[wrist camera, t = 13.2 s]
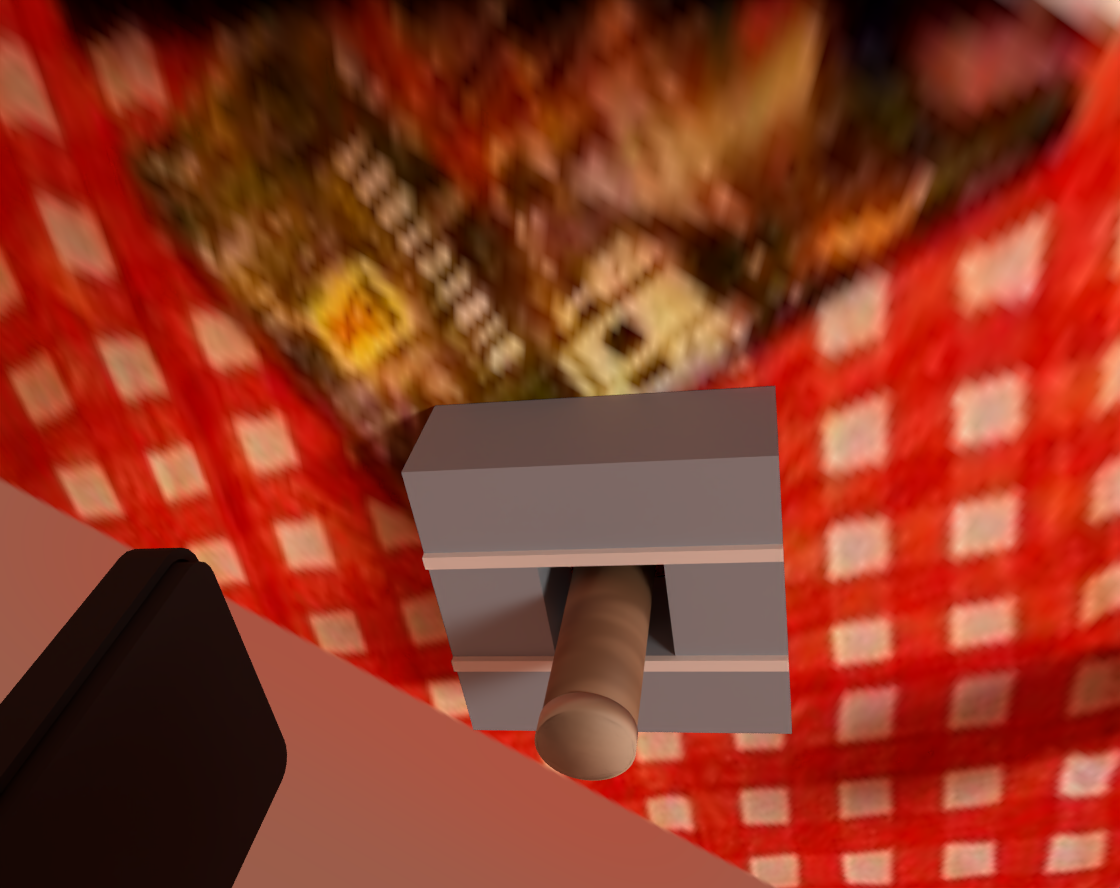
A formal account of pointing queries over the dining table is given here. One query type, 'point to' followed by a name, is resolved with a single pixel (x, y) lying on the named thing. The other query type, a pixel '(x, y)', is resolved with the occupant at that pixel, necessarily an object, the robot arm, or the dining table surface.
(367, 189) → the dining table surface
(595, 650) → the walnut peg
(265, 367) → the dining table surface
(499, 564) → the socket block
